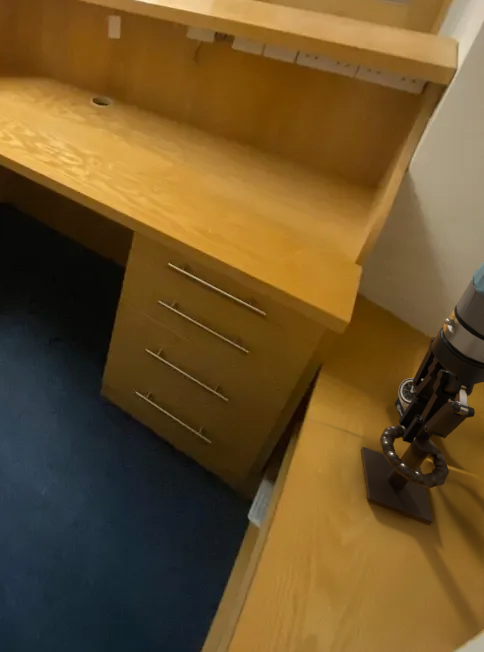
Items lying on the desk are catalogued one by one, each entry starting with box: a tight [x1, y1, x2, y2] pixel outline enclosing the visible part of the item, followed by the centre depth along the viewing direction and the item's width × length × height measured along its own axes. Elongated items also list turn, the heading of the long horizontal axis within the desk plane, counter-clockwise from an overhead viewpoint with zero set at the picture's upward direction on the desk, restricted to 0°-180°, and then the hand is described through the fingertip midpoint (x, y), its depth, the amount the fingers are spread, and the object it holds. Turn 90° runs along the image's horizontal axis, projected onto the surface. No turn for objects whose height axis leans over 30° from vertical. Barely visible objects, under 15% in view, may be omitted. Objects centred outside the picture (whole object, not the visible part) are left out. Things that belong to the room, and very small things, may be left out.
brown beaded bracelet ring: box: [379, 424, 450, 489], centre depth 83 cm, size 9×9×2 cm
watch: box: [394, 377, 434, 437], centre depth 94 cm, size 6×8×11 cm
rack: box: [360, 437, 433, 526], centre depth 84 cm, size 9×9×13 cm
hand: (410, 433), depth 85 cm, fingers closed on brown beaded bracelet ring, 2 cm apart
